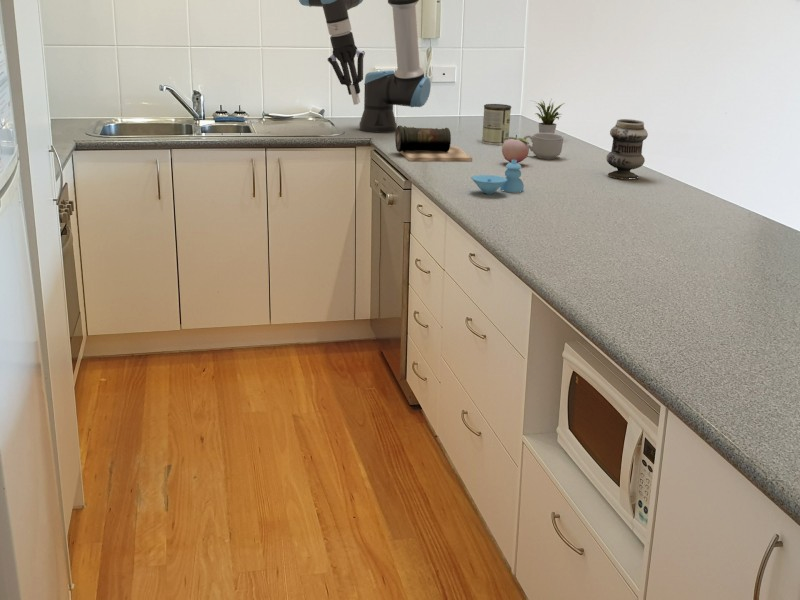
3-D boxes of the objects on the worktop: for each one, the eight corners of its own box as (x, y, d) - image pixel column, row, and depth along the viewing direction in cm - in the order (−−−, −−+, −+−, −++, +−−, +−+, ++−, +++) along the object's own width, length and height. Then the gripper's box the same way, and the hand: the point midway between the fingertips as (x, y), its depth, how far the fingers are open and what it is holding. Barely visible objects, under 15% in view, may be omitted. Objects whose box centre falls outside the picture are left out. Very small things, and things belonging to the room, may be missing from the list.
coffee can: (481, 139, 353) (484, 103, 349) (508, 141, 353) (511, 104, 348) (481, 144, 344) (483, 106, 339) (508, 145, 343) (511, 107, 338)
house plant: (520, 140, 356) (524, 97, 351) (529, 135, 368) (533, 94, 363) (556, 143, 351) (560, 101, 346) (564, 138, 363) (568, 97, 358)
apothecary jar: (621, 181, 287) (628, 124, 281) (596, 174, 297) (603, 118, 291) (650, 179, 293) (657, 123, 287) (625, 172, 303) (632, 117, 297)
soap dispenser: (487, 199, 257) (489, 167, 254) (462, 191, 265) (464, 161, 262) (532, 192, 268) (535, 162, 265) (507, 185, 275) (510, 156, 272)
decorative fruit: (497, 165, 305) (499, 135, 302) (503, 161, 313) (505, 132, 309) (524, 168, 302) (527, 138, 299) (530, 164, 310) (532, 134, 306)
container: (395, 126, 318) (444, 127, 322) (395, 152, 319) (444, 153, 323) (400, 124, 310) (451, 125, 314) (400, 151, 310) (451, 152, 314)
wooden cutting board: (408, 161, 306) (409, 157, 305) (397, 149, 326) (397, 146, 326) (472, 161, 310) (472, 157, 310) (456, 149, 330) (456, 146, 330)
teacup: (565, 157, 325) (567, 134, 322) (556, 161, 316) (558, 138, 313) (527, 152, 330) (529, 130, 328) (518, 157, 321) (520, 134, 318)
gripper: (318, 39, 297) (335, 109, 308) (355, 33, 293) (371, 104, 303) (326, 33, 304) (343, 102, 314) (362, 27, 299) (378, 97, 310)
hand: (357, 103), depth 309 cm, fingers closed
